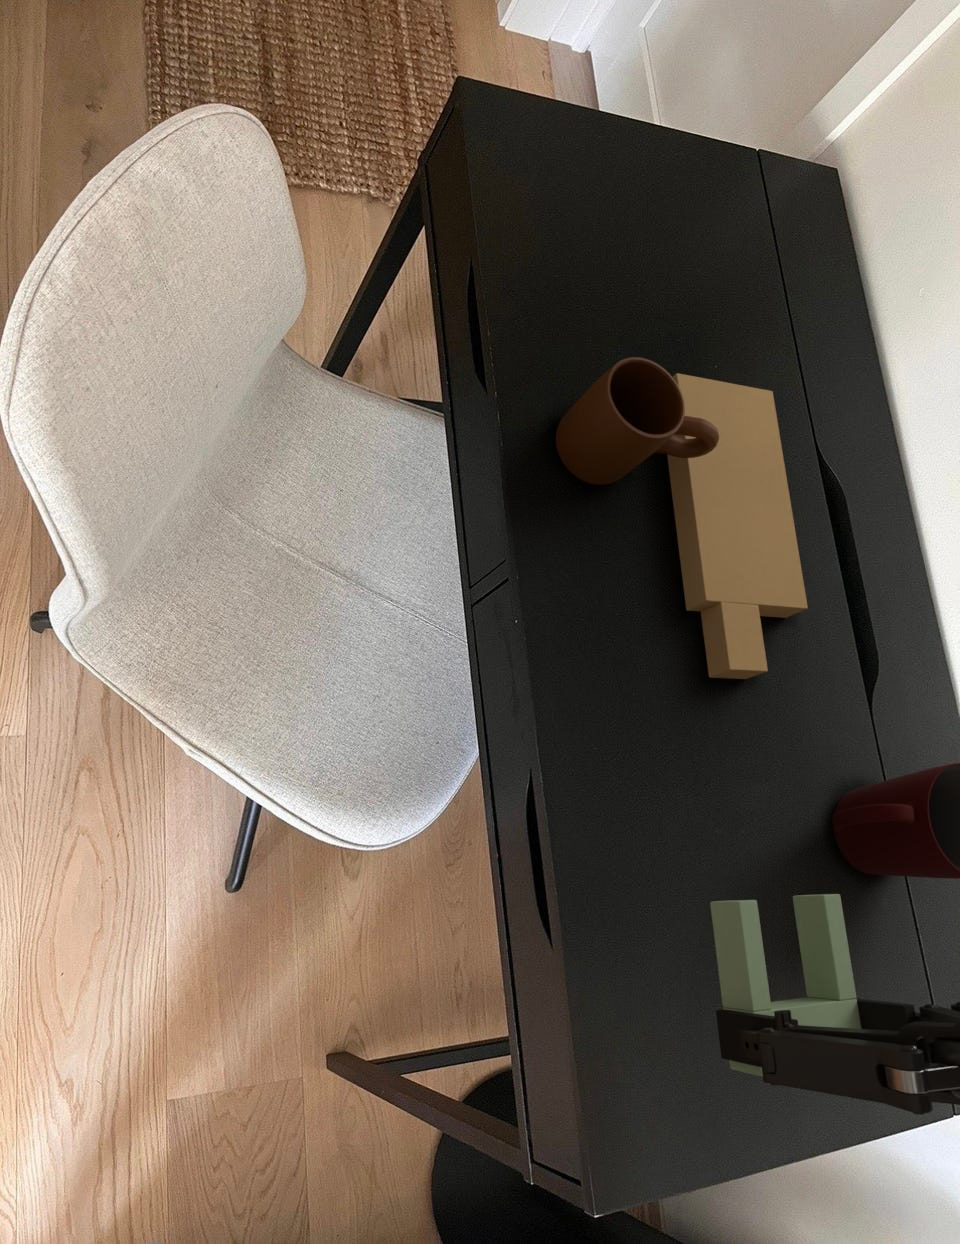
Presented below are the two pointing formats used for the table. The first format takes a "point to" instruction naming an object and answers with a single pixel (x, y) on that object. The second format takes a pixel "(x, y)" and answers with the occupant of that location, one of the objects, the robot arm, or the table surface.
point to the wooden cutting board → (735, 525)
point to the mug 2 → (903, 825)
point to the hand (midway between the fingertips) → (780, 1026)
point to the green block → (820, 959)
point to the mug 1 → (629, 423)
